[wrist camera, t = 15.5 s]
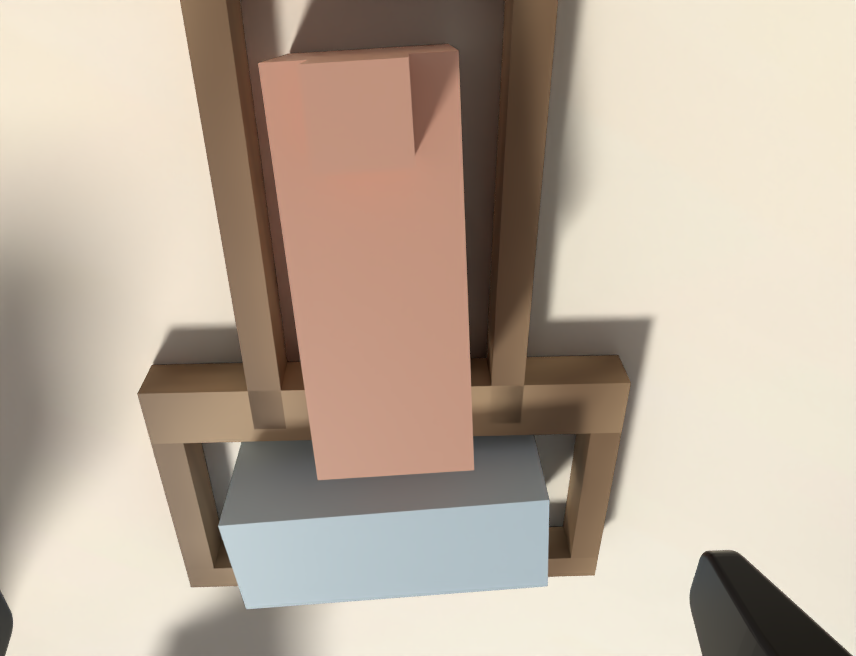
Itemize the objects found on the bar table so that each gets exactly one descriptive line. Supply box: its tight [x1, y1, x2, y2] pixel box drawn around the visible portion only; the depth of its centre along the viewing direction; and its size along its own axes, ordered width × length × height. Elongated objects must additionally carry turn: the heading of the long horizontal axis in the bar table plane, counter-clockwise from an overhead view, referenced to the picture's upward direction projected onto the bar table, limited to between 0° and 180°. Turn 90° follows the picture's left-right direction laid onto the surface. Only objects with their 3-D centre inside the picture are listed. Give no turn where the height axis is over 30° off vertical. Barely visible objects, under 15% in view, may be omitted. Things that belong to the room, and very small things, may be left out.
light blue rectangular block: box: [218, 435, 549, 609], centre depth 24 cm, size 10×4×4 cm, turn 94°
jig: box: [138, 0, 631, 587], centre depth 21 cm, size 15×22×2 cm
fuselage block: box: [258, 44, 474, 480], centre depth 17 cm, size 4×10×6 cm, turn 3°
